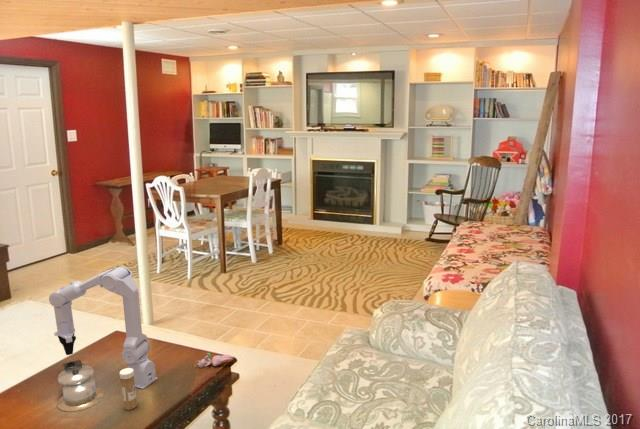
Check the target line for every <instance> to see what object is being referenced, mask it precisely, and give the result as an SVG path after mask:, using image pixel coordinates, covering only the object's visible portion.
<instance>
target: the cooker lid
mask: <svg viewBox="0 0 640 429" xmlns="http://www.w3.org/2000/svg"><path fill="white" fill-rule="evenodd" d="M62 369H63V370H62V371H61V372H60V373H58V375H57V382H58V384H59V385H61V386H62V387H63V386H72V385H77V384H81V383H83V382H86V381H87V380H89V379H90V378H93V376H94V368H93V367H92V366H91V365H88V364H83V363H82V361H81V359H77V360H73V361H69V362H66V363H63V364H62Z"/></svg>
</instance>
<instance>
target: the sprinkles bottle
mask: <svg viewBox="0 0 640 429" xmlns="http://www.w3.org/2000/svg"><path fill="white" fill-rule="evenodd" d="M119 378H120V384H121V386H120V388H121V394H122V395H121V396H122V401H123V409H124V410H127V411H129V410H133V409H135V408H136V407H137V406H138V402H137V400H138V399H137V392H136V390H137V389H136V387H135V382H134V370H133V369H132V368H127V367H126V368H123V369H121V370H120V371H119Z"/></svg>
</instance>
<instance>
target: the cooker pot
mask: <svg viewBox="0 0 640 429" xmlns="http://www.w3.org/2000/svg"><path fill="white" fill-rule="evenodd" d="M104 393H105V392H104V390H103V389H102V388H100V387H98V386H97V385H96V380H95V379H94V378H93V377H92V378H90V379H89V380H87V381H86V382H83V383H81V384H77V385H72V386H63V385H62V395H61V397H59V399H58V400H57V403H56V406H57V409H58V410H60V411H62V412H67V413H68V412H69V413H72V412H73V413H74V412H80V411H83V410H86V409H89V408H91V407H93V406H95V405H97V404H98V403H99V402H100V401H101V400H102V399H103V398H104V396H105V394H104Z"/></svg>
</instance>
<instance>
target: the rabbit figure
mask: <svg viewBox="0 0 640 429" xmlns="http://www.w3.org/2000/svg"><path fill="white" fill-rule="evenodd" d="M211 357H212V354H211V352H207V353H206V356H205V357H204V358H202V359H200V360H199V359H198V360H196V361H195V364H193V365H194V368H196V367H197V366H198V368H200V369H202V368H204V367H207V366H210V365H212V366H214V367H216V366H218V365H221V364H222V362H224V361H226V360H227V361H228V360H233V358H234V357H233V356H232V355H231V354H223V355H214V356H213V357H212V359H210V358H211Z"/></svg>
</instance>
